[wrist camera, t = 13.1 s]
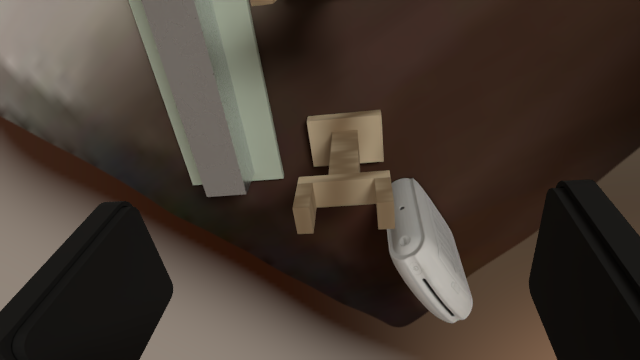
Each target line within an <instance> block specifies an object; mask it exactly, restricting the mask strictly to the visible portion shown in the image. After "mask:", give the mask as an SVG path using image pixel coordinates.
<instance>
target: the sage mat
mask: <svg viewBox="0 0 640 360" xmlns="http://www.w3.org/2000/svg"><path fill="white" fill-rule="evenodd" d="M129 3H130V6H131V9H132V12H133V15H134V18H135V20H136V23H137V26H138V29H139V32H140V35H141V38H142V41H143V43H144V46H145V49H146V52H147V55H148V58H149V61H150V63H151V66H152V69H153V72H154V75H155V78H156V81H157V83H158V86H159V89H160V92H161V95H162V98H163V101H164V103H165V106H166V109H167V112H168V115H169V118H170V121H171V123H172V126H173V129H174V132H175V135H176V138H177V141H178V143H179V146H180V149H181V152H182V155H183V158H184V161H185V164H186V166H187V169H188V172H189V175H190V178H191V181H192V184H193V185H203V184H202V181H201V178H200V175H199V172H198V169H197V166H196V163H195V160H194V157H193V154H192V151H191V148H190V145H189V142H188V139H187V136H186V133H185V130H184V127H183V124H182V121H181V118H180V115H179V112H178V109H177V106H176V103H175V100H174V97H173V94H172V91H171V88H170V85H169V82H168V79H167V76H166V73H165V70H164V67H163V64H162V61H161V58H160V55H159V52H158V49H157V46H156V43H155V40H154V37H153V34H152V31H151V28H150V25H149V22H148V19H147V16H146V13H145V10H144V7H143V4H142V1H141V0H129ZM212 3H213V7H214V11H215V15H216V19H217V23H218V27H219V31H220V35H221V39H222V43H223V47H224V51H225V55H226V59H227V63H228V67H229V71H230V75H231V79H232V83H233V87H234V91H235V95H236V99H237V103H238V107H239V112H240V116H241V120H242V124H243V128H244V132H245V136H246V140H247V144H248V148H249V152H250V156H251V160H252V164H253V168H254V172H255V173H254V176H253V178H252V181H258V180H271V179H283V178H284V172H283V167H282V163H281V158H280V153H279V148H278V143H277V138H276V133H275V128H274V123H273V119H272V114H271V109H270V104H269V99H268V94H267V89H266V84H265V80H264V75H263V70H262V65H261V60H260V55H259V50H258V45H257V40H256V36H255V31H254V26H253V21H252V16H251V11H250V6H249V1H248V0H212Z"/></svg>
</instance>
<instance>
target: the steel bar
mask: <svg viewBox="0 0 640 360" xmlns="http://www.w3.org/2000/svg"><path fill="white" fill-rule="evenodd" d="M141 1H142V4H143V7H144V10H145V13H146V16H147V19H148V22H149V25H150V28H151V31H152V34H153V37H154V40H155V43H156V46H157V49H158V52H159V55H160V58H161V61H162V64H163V67H164V70H165V73H166V76H167V79H168V82H169V85H170V88H171V91H172V94H173V97H174V100H175V103H176V106H177V109H178V112H179V115H180V118H181V121H182V124H183V127H184V130H185V133H186V136H187V139H188V142H189V145H190V148H191V151H192V154H193V157H194V160H195V163H196V166H197V169H198V172H199V175H200V178H201V181H202V184H203V187H204V190H205V193H206V196H207V197H214V196H229V195H243V194H247V192H248V189H249V186H250V184H251V181H252V178H253V176H254V173H255V172H254V168H253V164H252V160H251V156H250V152H249V148H248V144H247V140H246V136H245V132H244V128H243V124H242V120H241V116H240V112H239V107H238V103H237V99H236V95H235V91H234V87H233V83H232V79H231V75H230V71H229V67H228V63H227V59H226V55H225V51H224V47H223V43H222V39H221V35H220V31H219V27H218V23H217V19H216V15H215V11H214V7H213V3H212V0H141Z"/></svg>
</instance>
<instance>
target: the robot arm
mask: <svg viewBox="0 0 640 360" xmlns="http://www.w3.org/2000/svg"><path fill="white" fill-rule="evenodd" d="M529 289H530V293H531V296H532V299H533V301H534V304H535V306H536V309H537V311H538V313H539V316H540V318H541V321H542V323H543V326H544V328H545V330H546V333H547V335H548V338H549V340H550V343H551V345H552V347H553V350H554V352H555V355H556V357H557V360H640V236H639V235H638V234H637V233H636V231H635V230H634V229H633V228H632V227H631V225H630V224H629V223H628V222H627V220H626V219H625V218H624V217H623V215H622V214H621V213H620V212H619V211H618V209H617V208H616V207H615V206H614V204H613V203H612V202H611V201H610V200H609V198H608V197H607V196H606V195H605V193H604V192H603V191H602V190H601V189H600V188H599V186H598V185H597V184H596V183H595V182H594V181H593V180H572V181H560V182H559V183H558V184H557V186H556V188H551V189H549V190H548V192H547V195H546V200H545V205H544V210H543V214H542V219H541V224H540V229H539V234H538V239H537V244H536V248H535V253H534V258H533V263H532V268H531V272H530V278H529ZM172 293H173V284H172V281H171V279H170V277H169V275H168V273H167V271H166V268H165V266H164V264H163V262H162V260H161V258H160V256H159V253H158V251H157V249H156V247H155V245H154V242H153V241H152V238H151V236H150V234H149V232H148V230H147V227H146V225H145V223H144V221H143V219H142V217H141V215H140V212H139V211H138V209H136V208H135V207H133V206H132V205H131V204H130V203H129V202H126V201H120V202H104V203H101V204H100V205H99V206H98V207H97V208H96V209H95V210H94V211H93V212H92V213H91V214H90V215H89V216H88V217H87V219H86V220H85V221H84V222H83V223H82V224H81V225H80V226H79V227H78V228H77V229H76V230H75V231H74V233H73V234H72V235H71V236H70V237H69V238H68V239H67V240H66V241H65V242H64V243H63V245H62V246H61V247H60V248H59V249H58V250H57V251H56V252H55V253H54V254H53V255H52V256H51V257H50V258H49V260H48V261H47V262H46V263H45V264H44V265H43V266H42V267H41V268H40V269H39V270H38V271H37V273H36V274H35V275H34V276H33V277H32V278H31V279H30V280H29V281H28V282H27V283H26V284H25V285H24V287H23V288H22V289H21V290H20V291H19V292H18V293H17V294H16V295H15V296H14V297H13V298H12V300H11V301H10V302H9V303H8V304H7V305H6V306H5V307H4V308H3V309H2V310H1V311H0V360H139V359H140V357H141V355H142V353H143V351H144V350H145V348H146V346H147V344H148V342H149V340H150V338H151V336H152V334H153V332H154V330H155V328H156V326H157V324H158V322H159V321H160V318H161V317H162V315H163V313H164V311H165V309H166V307H167V305H168V303H169V301H170V299H171V297H172Z"/></svg>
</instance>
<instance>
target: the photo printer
mask: <svg viewBox="0 0 640 360" xmlns="http://www.w3.org/2000/svg"><path fill="white" fill-rule="evenodd" d="M391 184H392V191H393V198H394V212H395V229H387V236H388V245H389V253H390V256H391V259H392V261H393V263H394V265H395V267H396V269H397V270H398V272H399V274H400V275H401V277H402V278H403V280H404V281H405V283H406V284H407V286H408V287H409V288H410V290H411V291H412V292H413V293H414V295H415V296H416V297H417V298H418V299H419V301H420V302H421V303H422V304H423V305H424V306H425V307H426V308H427V309H428V310H429V311H430V312H431V313H432V314H434V315H435V316H436V317H438V318H439V319H441V320H443V321H445V322H448V323H455V322H456V321H458V320H464V319H466V318H467V317H468V315H469V314H470V312H471V310H472V305H473V300H472V296H471V292H470V289H469V286H468V283H467V280H466V277H465V273H464V270H463V267H462V264H461V260H460V257H459V254H458V251H457V247H456V244H455V241H454V238H453V235H452V232H451V230H450V229H449V227H448V225H447V224H446V222H445V220H444V219H443V217H442V216H441V214H440V213H439V211H438V210H437V208H436V207H435V205H434V204H433V202H432V201H431V199H430V198H429V197H428V195H427V194H426V192H425V191H424V190H423V188H422V187H421V186H420V185H419V184H418V182H417V181H416V180H414V179H413V178H412V179H409V178H403V179H399V180H396V181H394V182H393V183H391Z"/></svg>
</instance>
